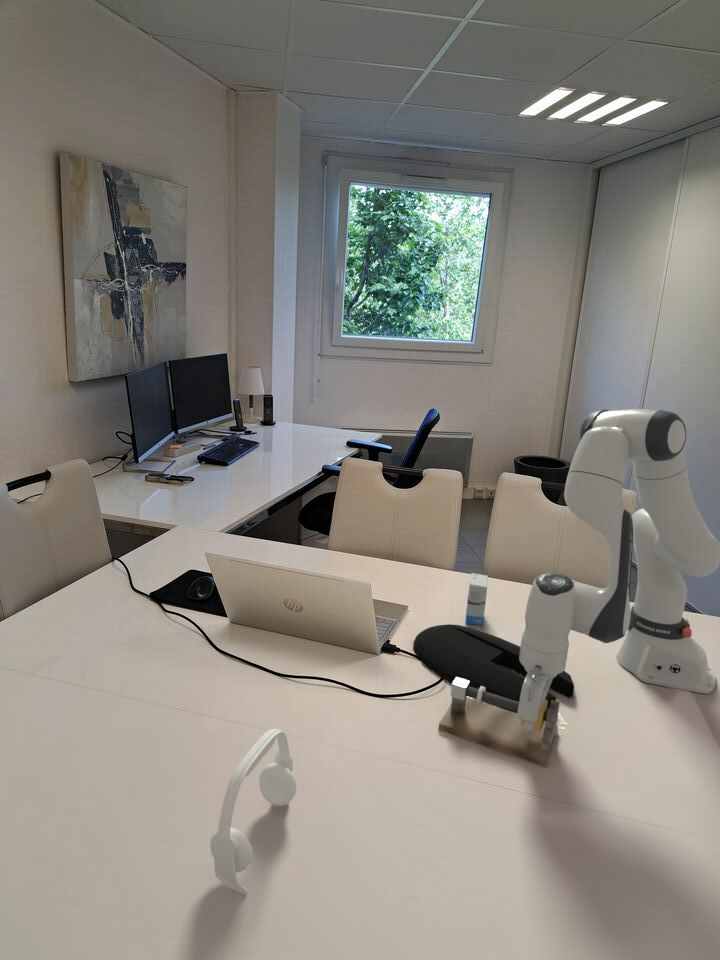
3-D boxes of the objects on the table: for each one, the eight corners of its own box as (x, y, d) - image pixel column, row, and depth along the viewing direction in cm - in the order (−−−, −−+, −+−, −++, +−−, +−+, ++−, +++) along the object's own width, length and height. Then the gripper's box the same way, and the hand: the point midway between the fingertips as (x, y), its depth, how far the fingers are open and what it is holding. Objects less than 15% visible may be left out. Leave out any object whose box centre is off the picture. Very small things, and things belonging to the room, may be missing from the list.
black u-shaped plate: (449, 621, 182) (451, 605, 180) (588, 686, 155) (591, 667, 154) (390, 652, 164) (391, 634, 163) (534, 731, 138) (538, 710, 136)
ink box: (482, 626, 179) (487, 587, 176) (464, 623, 180) (469, 584, 177) (483, 612, 188) (488, 574, 184) (466, 610, 188) (470, 572, 185)
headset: (266, 792, 116) (268, 705, 111) (303, 805, 113) (307, 716, 109) (202, 882, 98) (201, 783, 93) (244, 899, 95) (245, 798, 90)
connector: (466, 709, 140) (470, 681, 138) (462, 717, 137) (465, 688, 136) (453, 705, 141) (456, 676, 139) (448, 712, 139) (451, 683, 137)
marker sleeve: (544, 719, 133) (547, 700, 132) (540, 731, 129) (543, 711, 128) (525, 712, 135) (528, 694, 134) (520, 724, 131) (523, 705, 130)
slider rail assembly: (557, 732, 137) (564, 692, 134) (546, 767, 126) (553, 724, 124) (456, 699, 146) (461, 661, 143) (438, 729, 135) (442, 689, 133)
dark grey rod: (556, 722, 132) (558, 706, 131) (552, 732, 129) (555, 716, 128) (468, 693, 139) (470, 679, 138) (463, 702, 136) (465, 687, 135)
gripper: (549, 686, 118) (538, 751, 121) (568, 637, 135) (558, 695, 139) (514, 675, 120) (505, 740, 124) (537, 629, 138) (528, 686, 142)
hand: (533, 716), depth 132 cm, fingers open, 8 cm apart
